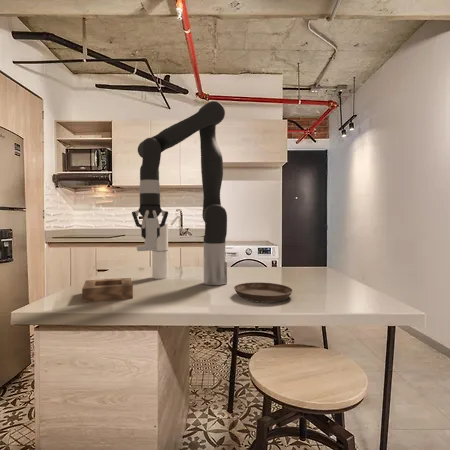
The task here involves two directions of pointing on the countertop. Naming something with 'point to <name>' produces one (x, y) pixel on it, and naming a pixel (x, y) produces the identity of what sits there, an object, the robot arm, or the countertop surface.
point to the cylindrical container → (161, 255)
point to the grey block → (150, 235)
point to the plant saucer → (263, 292)
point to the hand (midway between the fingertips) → (150, 237)
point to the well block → (107, 289)
